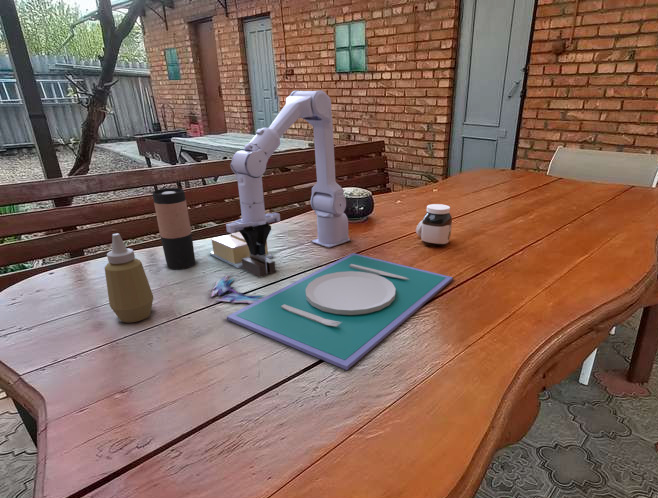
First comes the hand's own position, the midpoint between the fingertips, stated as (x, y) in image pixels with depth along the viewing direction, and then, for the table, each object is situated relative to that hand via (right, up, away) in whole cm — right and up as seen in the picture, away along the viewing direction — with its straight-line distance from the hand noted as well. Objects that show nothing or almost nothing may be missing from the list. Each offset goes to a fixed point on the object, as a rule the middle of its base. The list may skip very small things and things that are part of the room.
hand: (257, 253), depth 109 cm
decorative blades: (-3, -10, -10) cm, 15 cm away
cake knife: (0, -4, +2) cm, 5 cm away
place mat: (+24, -11, -13) cm, 30 cm away
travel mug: (-22, -3, +6) cm, 23 cm away
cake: (-7, 0, +11) cm, 14 cm away
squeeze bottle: (-20, -14, -21) cm, 32 cm away
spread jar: (+49, +4, +23) cm, 54 cm away
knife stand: (0, -4, +2) cm, 5 cm away
